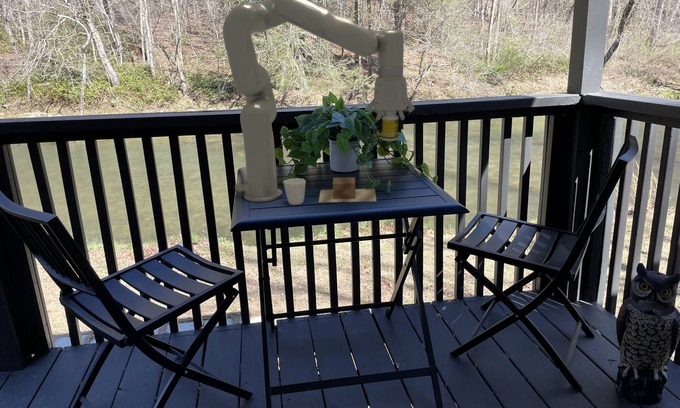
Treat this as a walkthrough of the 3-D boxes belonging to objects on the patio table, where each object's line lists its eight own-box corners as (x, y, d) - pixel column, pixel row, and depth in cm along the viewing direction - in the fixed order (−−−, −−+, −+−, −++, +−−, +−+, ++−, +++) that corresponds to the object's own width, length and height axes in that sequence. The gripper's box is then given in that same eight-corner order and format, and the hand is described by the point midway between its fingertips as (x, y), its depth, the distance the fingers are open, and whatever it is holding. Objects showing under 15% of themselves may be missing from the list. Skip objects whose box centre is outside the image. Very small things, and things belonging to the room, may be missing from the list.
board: (318, 205, 164) (318, 202, 164) (320, 192, 176) (320, 189, 176) (376, 204, 164) (376, 201, 163) (374, 191, 176) (374, 188, 176)
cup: (282, 209, 161) (280, 184, 159) (288, 199, 171) (287, 175, 168) (305, 209, 161) (303, 184, 158) (310, 199, 170) (309, 175, 167)
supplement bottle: (397, 141, 163) (398, 109, 159) (380, 141, 164) (380, 109, 160) (399, 137, 168) (399, 106, 164) (382, 137, 169) (382, 106, 165)
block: (333, 199, 166) (332, 183, 165) (333, 192, 173) (333, 177, 172) (355, 198, 166) (355, 183, 165) (355, 191, 173) (354, 177, 171)
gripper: (362, 74, 156) (362, 134, 161) (420, 73, 155) (418, 134, 161) (362, 72, 163) (362, 130, 169) (417, 71, 162) (415, 129, 168)
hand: (389, 131), depth 165 cm, fingers closed on supplement bottle, 5 cm apart
